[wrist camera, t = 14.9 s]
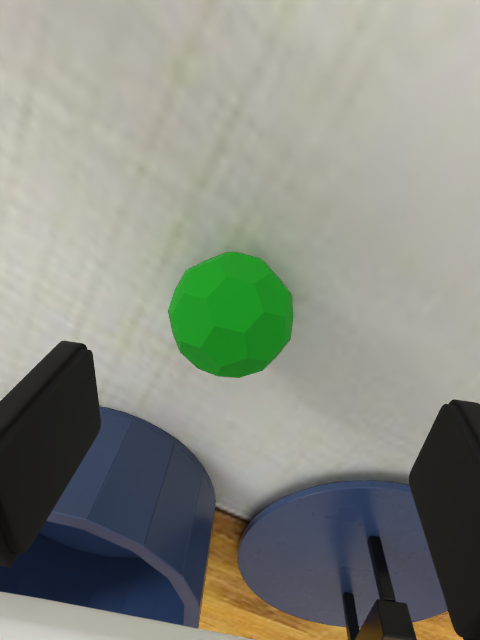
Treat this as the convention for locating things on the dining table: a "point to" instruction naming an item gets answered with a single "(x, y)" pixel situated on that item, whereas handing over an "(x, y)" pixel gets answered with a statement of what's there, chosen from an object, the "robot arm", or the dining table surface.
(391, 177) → the dining table surface
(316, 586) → the lid
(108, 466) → the pot
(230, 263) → the polyhedron
